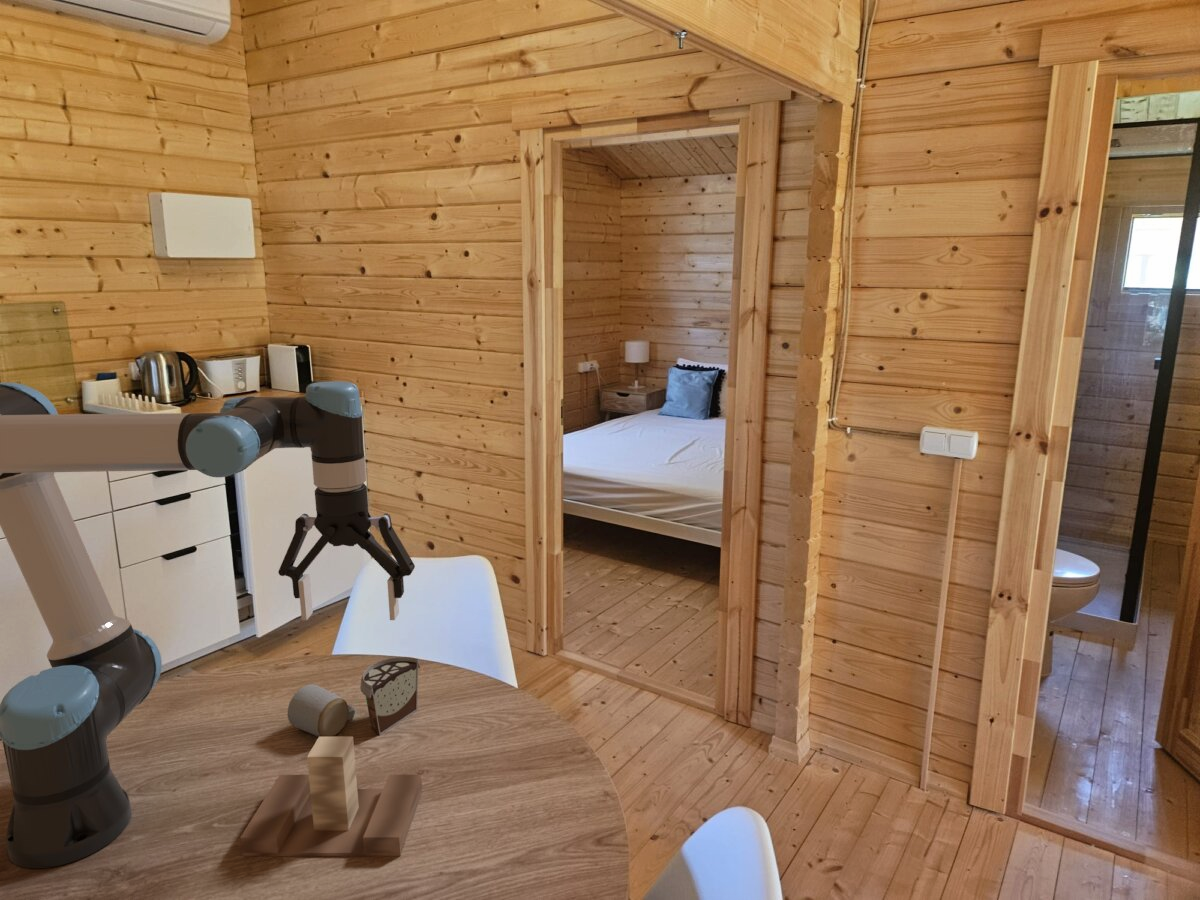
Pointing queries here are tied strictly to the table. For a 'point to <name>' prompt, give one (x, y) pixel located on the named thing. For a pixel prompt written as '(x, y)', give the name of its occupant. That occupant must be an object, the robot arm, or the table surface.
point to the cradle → (372, 832)
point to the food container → (390, 691)
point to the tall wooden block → (333, 783)
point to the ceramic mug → (319, 711)
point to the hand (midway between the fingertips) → (350, 616)
